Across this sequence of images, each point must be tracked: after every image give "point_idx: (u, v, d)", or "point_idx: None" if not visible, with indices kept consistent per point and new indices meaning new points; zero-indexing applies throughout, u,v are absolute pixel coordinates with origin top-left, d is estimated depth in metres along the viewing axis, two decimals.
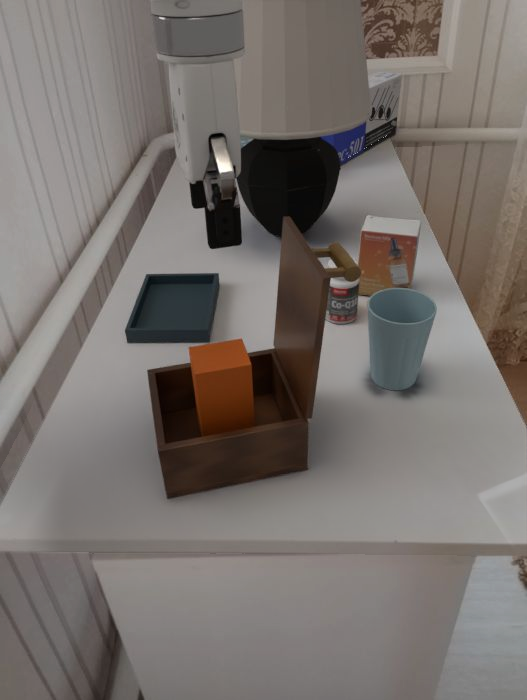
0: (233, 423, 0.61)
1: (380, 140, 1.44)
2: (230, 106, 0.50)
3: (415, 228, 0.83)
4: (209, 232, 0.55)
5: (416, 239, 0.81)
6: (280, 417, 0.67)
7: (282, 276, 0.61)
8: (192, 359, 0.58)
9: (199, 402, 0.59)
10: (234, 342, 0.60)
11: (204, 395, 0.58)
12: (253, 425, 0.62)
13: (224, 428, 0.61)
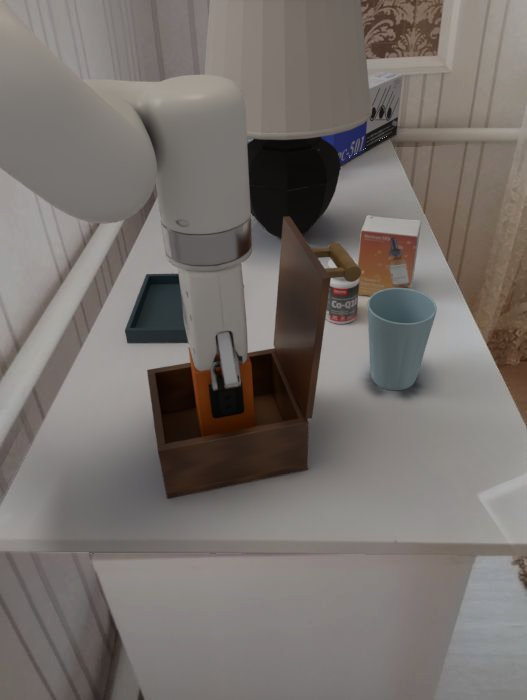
0: (233, 423, 0.61)
1: (381, 140, 1.44)
2: (237, 307, 0.50)
3: (415, 228, 0.83)
4: (213, 405, 0.58)
5: (416, 239, 0.81)
6: (280, 417, 0.67)
7: (282, 276, 0.61)
8: (192, 359, 0.58)
9: (199, 402, 0.59)
10: None
11: (204, 395, 0.58)
12: (253, 425, 0.62)
13: (224, 428, 0.61)
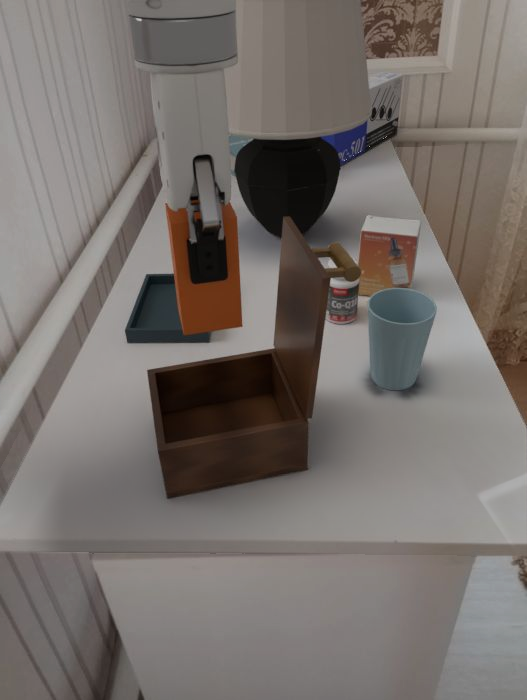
0: (216, 294, 0.53)
1: (381, 140, 1.44)
2: (218, 124, 0.42)
3: (415, 228, 0.83)
4: (191, 266, 0.50)
5: (416, 239, 0.81)
6: (280, 417, 0.67)
7: (282, 276, 0.61)
8: (168, 212, 0.50)
9: (176, 263, 0.51)
10: None
11: (182, 255, 0.50)
12: (239, 299, 0.54)
13: (206, 300, 0.53)
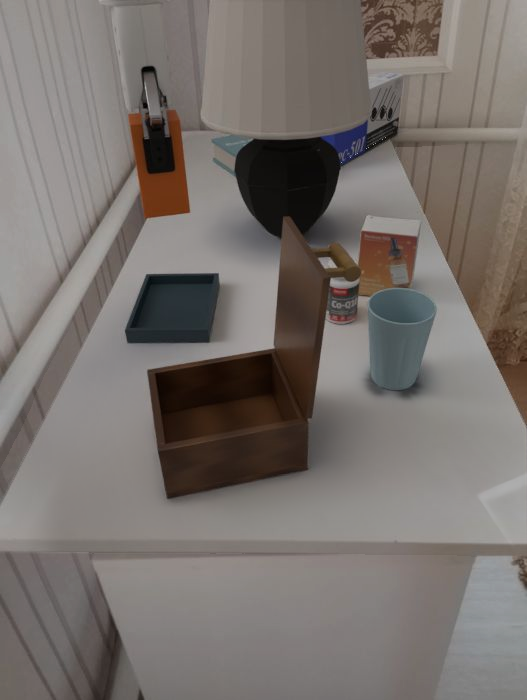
0: (168, 184, 0.70)
1: (382, 140, 1.44)
2: (158, 42, 0.59)
3: (415, 228, 0.83)
4: (147, 159, 0.67)
5: (416, 239, 0.81)
6: (280, 417, 0.67)
7: (282, 276, 0.61)
8: (129, 119, 0.67)
9: (136, 157, 0.68)
10: (168, 111, 0.69)
11: (139, 150, 0.67)
12: (186, 189, 0.71)
13: (160, 189, 0.70)
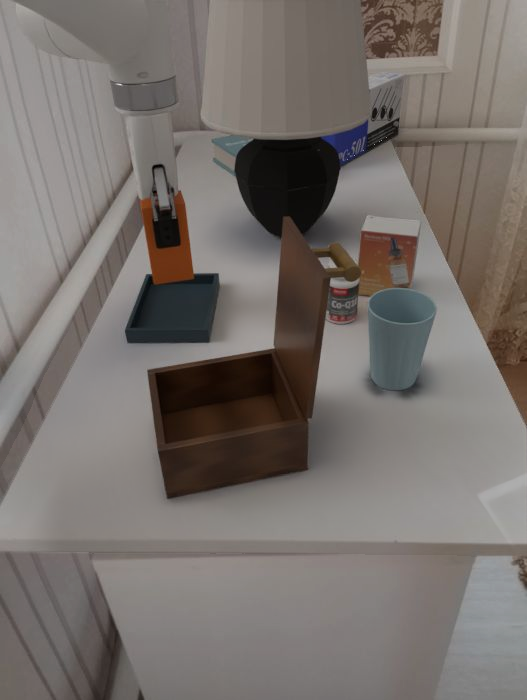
0: (174, 256, 0.79)
1: (382, 140, 1.43)
2: (167, 145, 0.68)
3: (415, 228, 0.83)
4: (156, 236, 0.77)
5: (416, 239, 0.81)
6: (280, 417, 0.67)
7: (282, 276, 0.61)
8: (140, 201, 0.76)
9: (146, 234, 0.77)
10: None
11: (150, 229, 0.76)
12: (190, 259, 0.80)
13: (167, 260, 0.80)
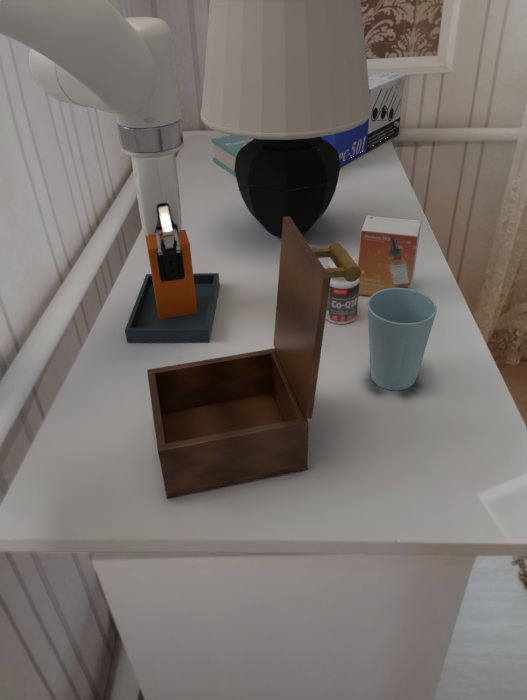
0: (179, 292, 0.83)
1: (383, 141, 1.43)
2: (171, 185, 0.71)
3: (415, 228, 0.83)
4: (160, 270, 0.77)
5: (416, 239, 0.81)
6: (280, 417, 0.67)
7: (282, 276, 0.61)
8: (147, 241, 0.80)
9: (152, 273, 0.80)
10: None
11: (155, 267, 0.80)
12: (194, 295, 0.84)
13: (172, 296, 0.83)
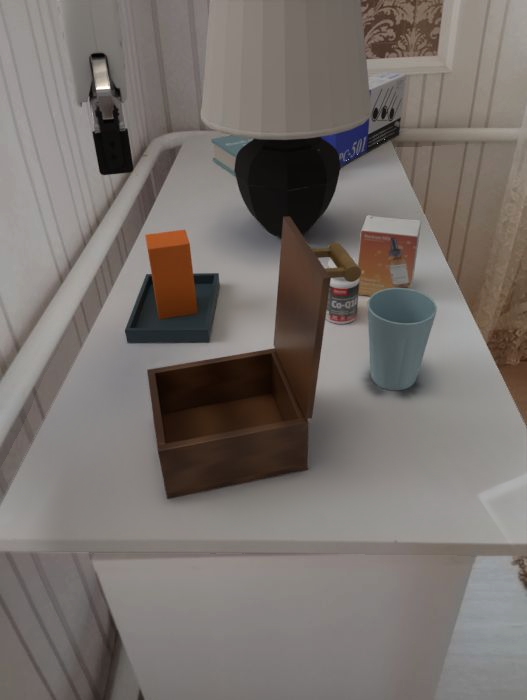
0: (179, 292, 0.83)
1: (383, 141, 1.43)
2: (109, 26, 0.51)
3: (415, 228, 0.83)
4: (98, 157, 0.56)
5: (416, 239, 0.81)
6: (280, 417, 0.67)
7: (282, 276, 0.61)
8: (147, 241, 0.80)
9: (152, 273, 0.80)
10: (179, 231, 0.82)
11: (155, 267, 0.80)
12: (194, 295, 0.84)
13: (172, 296, 0.83)
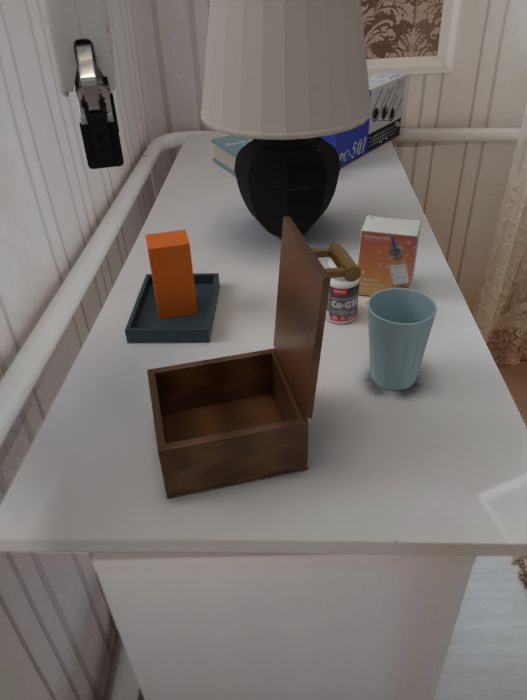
0: (179, 292, 0.83)
1: (383, 141, 1.43)
2: (94, 10, 0.48)
3: (415, 228, 0.83)
4: (87, 150, 0.53)
5: (416, 239, 0.81)
6: (280, 417, 0.67)
7: (282, 276, 0.61)
8: (147, 241, 0.80)
9: (152, 273, 0.80)
10: (179, 231, 0.82)
11: (155, 267, 0.80)
12: (194, 295, 0.84)
13: (172, 296, 0.83)
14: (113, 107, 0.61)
